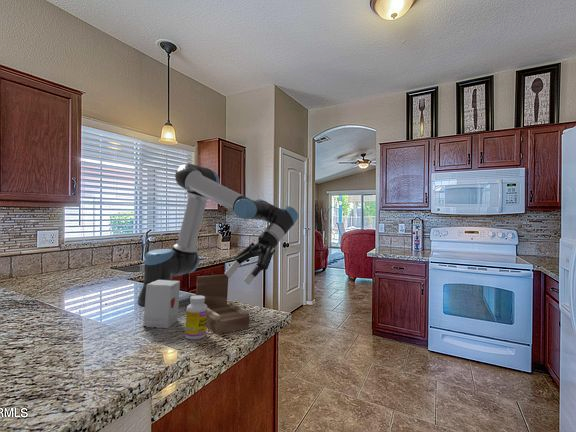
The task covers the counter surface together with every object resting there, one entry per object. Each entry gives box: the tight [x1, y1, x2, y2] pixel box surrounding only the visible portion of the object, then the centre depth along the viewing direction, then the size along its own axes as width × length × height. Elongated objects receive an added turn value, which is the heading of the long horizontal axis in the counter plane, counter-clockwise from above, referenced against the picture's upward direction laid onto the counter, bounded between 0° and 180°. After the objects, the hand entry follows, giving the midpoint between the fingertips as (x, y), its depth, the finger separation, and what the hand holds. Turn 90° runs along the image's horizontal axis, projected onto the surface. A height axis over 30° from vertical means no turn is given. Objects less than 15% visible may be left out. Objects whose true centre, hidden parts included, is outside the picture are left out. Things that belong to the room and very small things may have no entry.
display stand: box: [195, 273, 251, 335], centre depth 110 cm, size 20×13×16 cm, turn 39°
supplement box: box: [142, 280, 181, 329], centre depth 105 cm, size 9×9×15 cm
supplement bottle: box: [184, 294, 207, 340], centre depth 96 cm, size 7×7×13 cm
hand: (236, 278), depth 105 cm, fingers open, 13 cm apart
